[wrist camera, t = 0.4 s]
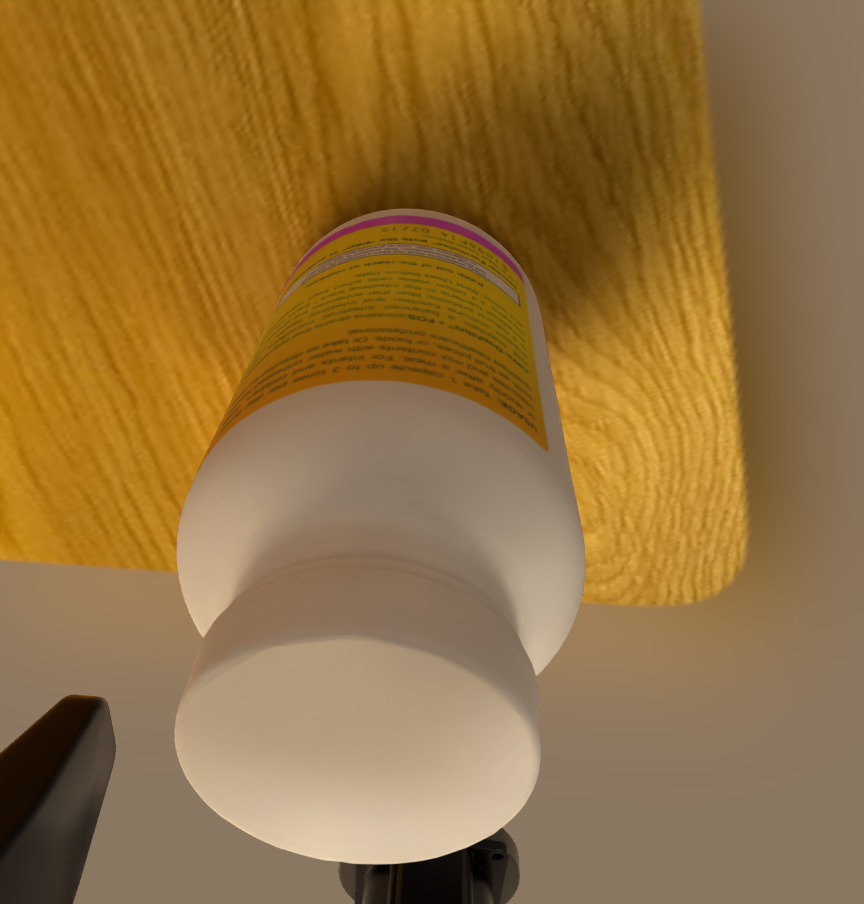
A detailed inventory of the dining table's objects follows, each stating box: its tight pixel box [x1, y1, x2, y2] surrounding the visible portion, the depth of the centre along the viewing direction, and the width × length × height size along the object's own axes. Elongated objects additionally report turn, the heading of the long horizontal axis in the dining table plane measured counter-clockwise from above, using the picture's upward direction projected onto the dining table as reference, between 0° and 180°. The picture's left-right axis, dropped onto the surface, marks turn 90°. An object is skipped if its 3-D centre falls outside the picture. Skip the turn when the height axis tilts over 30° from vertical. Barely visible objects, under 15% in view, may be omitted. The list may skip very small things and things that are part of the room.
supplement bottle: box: [174, 208, 585, 864], centre depth 16 cm, size 7×7×13 cm
